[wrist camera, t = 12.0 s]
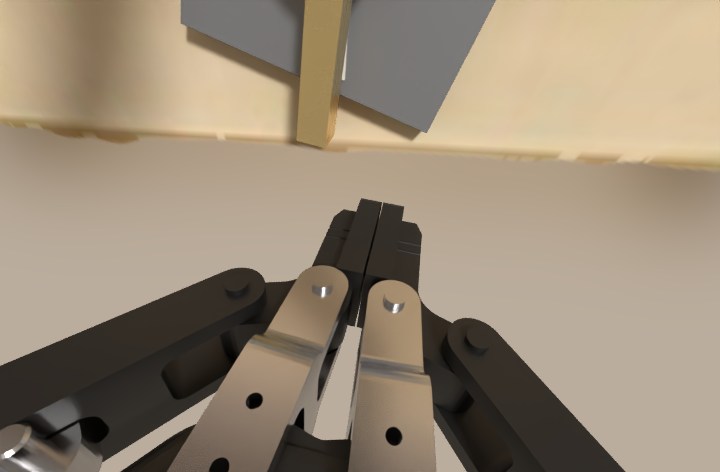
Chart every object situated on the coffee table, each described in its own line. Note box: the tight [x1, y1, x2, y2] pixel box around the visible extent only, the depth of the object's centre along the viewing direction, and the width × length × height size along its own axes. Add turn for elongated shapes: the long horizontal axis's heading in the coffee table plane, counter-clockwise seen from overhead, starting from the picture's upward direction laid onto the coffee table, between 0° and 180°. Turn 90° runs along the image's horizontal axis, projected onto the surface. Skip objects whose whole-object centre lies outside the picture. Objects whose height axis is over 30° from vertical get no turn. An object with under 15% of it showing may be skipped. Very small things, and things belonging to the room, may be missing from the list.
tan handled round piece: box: [296, 0, 353, 148], centre depth 22 cm, size 18×7×4 cm, turn 169°
